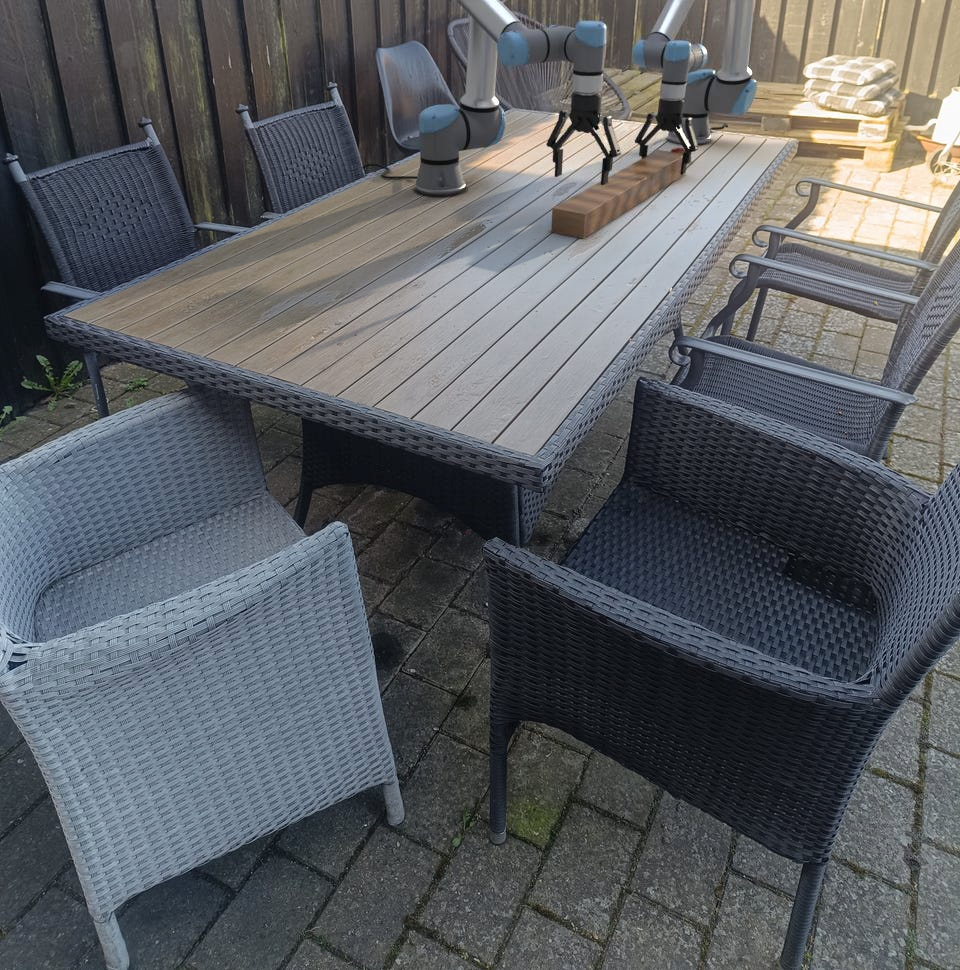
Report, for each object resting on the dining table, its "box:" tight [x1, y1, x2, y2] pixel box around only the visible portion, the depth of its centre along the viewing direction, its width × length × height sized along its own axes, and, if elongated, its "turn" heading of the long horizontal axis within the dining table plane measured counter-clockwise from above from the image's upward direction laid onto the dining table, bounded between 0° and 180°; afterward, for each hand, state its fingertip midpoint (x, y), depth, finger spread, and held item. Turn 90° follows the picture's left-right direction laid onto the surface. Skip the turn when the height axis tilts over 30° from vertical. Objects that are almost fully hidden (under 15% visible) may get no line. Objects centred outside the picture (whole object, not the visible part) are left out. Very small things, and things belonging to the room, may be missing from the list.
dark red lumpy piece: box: [669, 146, 692, 163], centre depth 284 cm, size 6×4×8 cm
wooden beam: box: [550, 149, 685, 239], centre depth 248 cm, size 71×10×6 cm, turn 147°
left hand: (580, 179), depth 222 cm, fingers open, 13 cm apart
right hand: (662, 170), depth 268 cm, fingers open, 13 cm apart
